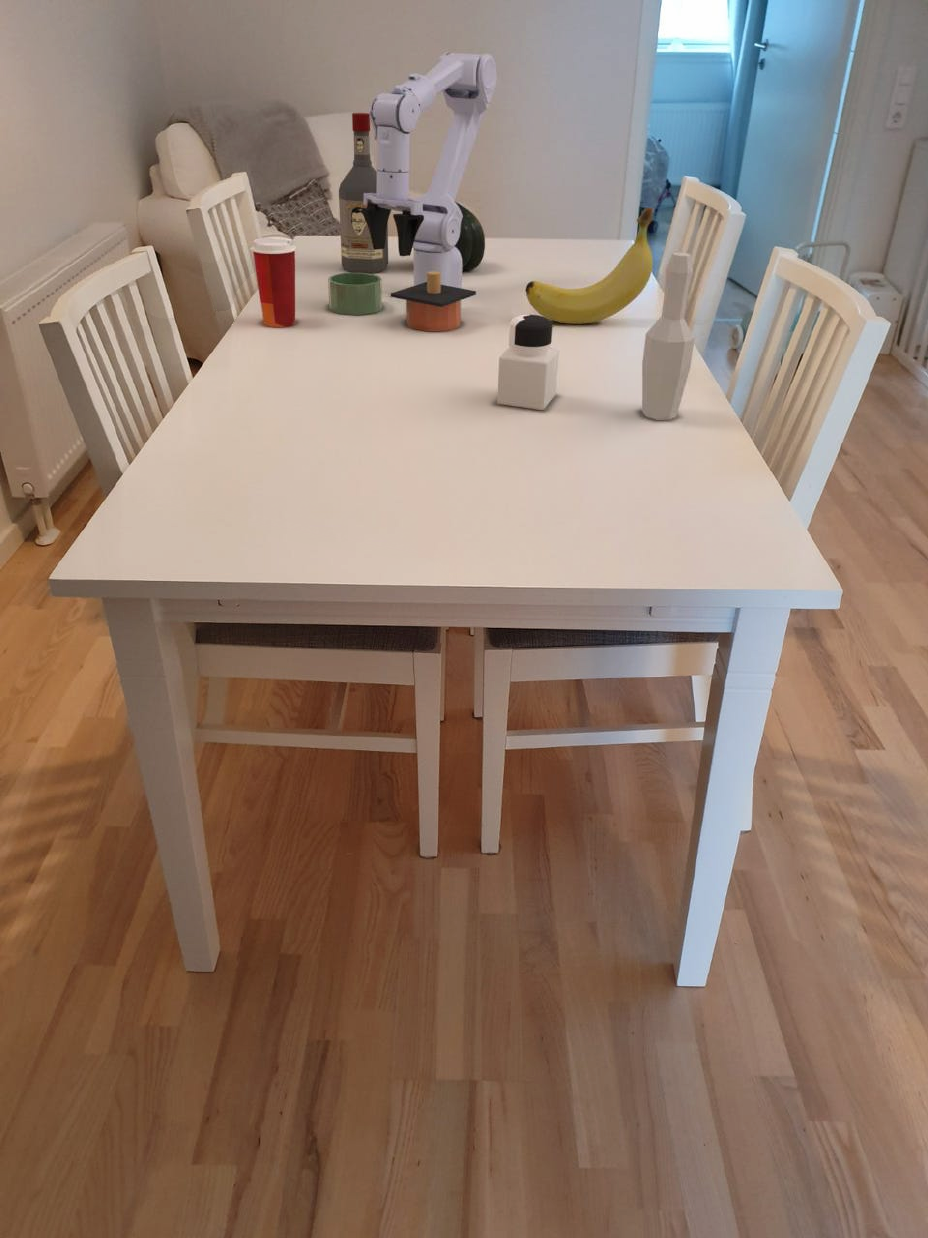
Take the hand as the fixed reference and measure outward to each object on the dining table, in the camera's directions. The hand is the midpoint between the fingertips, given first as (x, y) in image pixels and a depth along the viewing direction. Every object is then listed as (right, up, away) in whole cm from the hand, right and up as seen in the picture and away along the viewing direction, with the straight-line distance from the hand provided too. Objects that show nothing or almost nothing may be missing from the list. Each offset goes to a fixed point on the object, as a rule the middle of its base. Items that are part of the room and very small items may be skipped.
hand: (391, 252), depth 176 cm
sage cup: (-7, -8, +6) cm, 13 cm away
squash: (+10, +10, +35) cm, 38 cm away
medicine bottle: (+22, -35, -34) cm, 54 cm away
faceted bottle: (+41, -38, -38) cm, 68 cm away
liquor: (-8, +9, +34) cm, 36 cm away
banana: (+35, -13, +2) cm, 38 cm away
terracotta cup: (+8, -14, -2) cm, 16 cm away
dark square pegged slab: (+8, -9, -4) cm, 13 cm away
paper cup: (-20, -14, -4) cm, 25 cm away
